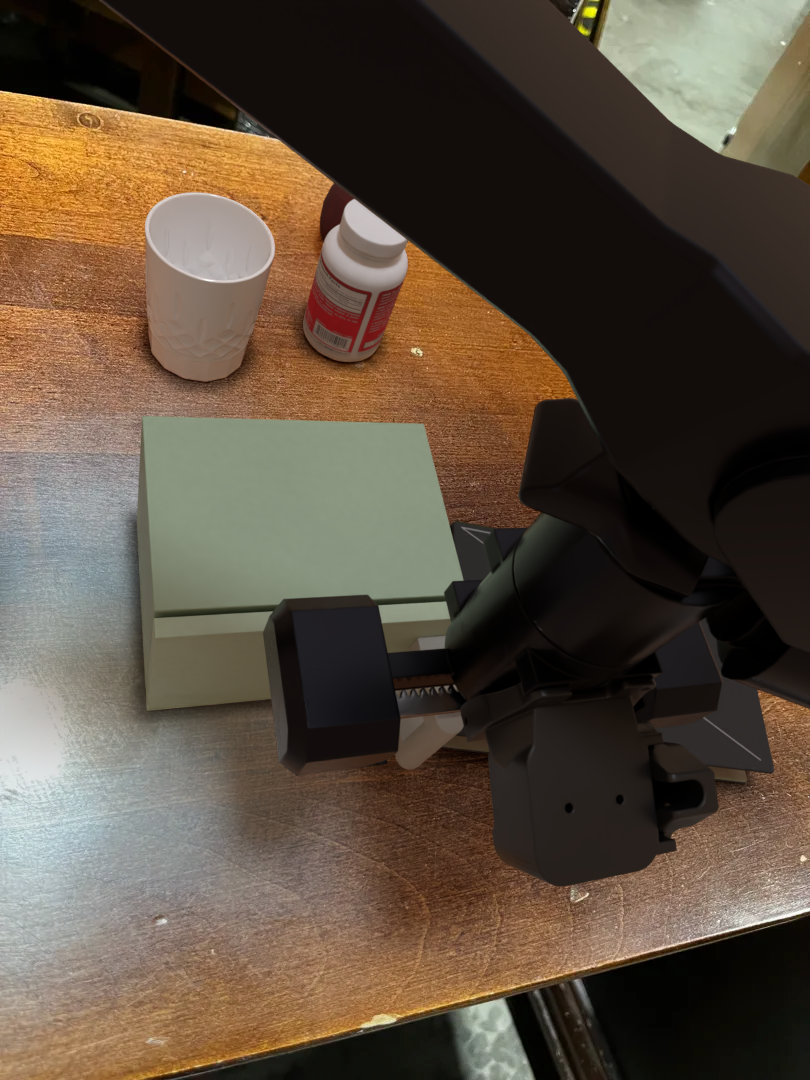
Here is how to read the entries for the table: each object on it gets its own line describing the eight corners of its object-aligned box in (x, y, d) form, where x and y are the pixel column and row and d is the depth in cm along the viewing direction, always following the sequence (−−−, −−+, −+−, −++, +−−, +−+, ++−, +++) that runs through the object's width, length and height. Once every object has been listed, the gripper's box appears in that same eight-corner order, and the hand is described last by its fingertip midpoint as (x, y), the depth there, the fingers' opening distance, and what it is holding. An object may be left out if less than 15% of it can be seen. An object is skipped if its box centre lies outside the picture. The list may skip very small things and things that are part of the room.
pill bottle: (368, 307, 66) (410, 192, 56) (386, 366, 63) (432, 255, 54) (294, 304, 63) (324, 183, 54) (308, 364, 61) (343, 249, 51)
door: (428, 771, 48) (497, 717, 39) (151, 809, 42) (161, 756, 34) (408, 670, 50) (467, 599, 42) (145, 693, 45) (153, 617, 36)
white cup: (236, 403, 57) (257, 299, 49) (124, 367, 55) (126, 253, 47) (264, 326, 61) (287, 219, 53) (160, 291, 60) (168, 175, 51)
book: (707, 587, 62) (732, 569, 59) (745, 784, 54) (776, 773, 51) (438, 538, 56) (453, 515, 54) (438, 748, 49) (455, 734, 46)
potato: (415, 251, 71) (437, 193, 66) (363, 295, 66) (384, 237, 61) (347, 203, 71) (365, 142, 66) (292, 244, 66) (306, 182, 62)
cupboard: (406, 667, 51) (467, 594, 42) (145, 690, 45) (153, 611, 36) (375, 516, 56) (424, 423, 47) (136, 520, 50) (141, 415, 41)
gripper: (365, 899, 20) (264, 947, 33) (907, 794, 26) (647, 868, 39) (302, 509, 25) (236, 683, 38) (772, 504, 31) (580, 653, 44)
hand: (435, 726), depth 40 cm, fingers open, 9 cm apart
